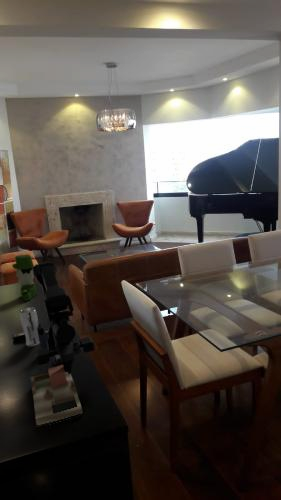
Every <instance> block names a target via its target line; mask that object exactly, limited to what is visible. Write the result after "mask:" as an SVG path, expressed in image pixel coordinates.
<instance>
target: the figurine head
mask: <svg viewBox="0 0 281 500" xmlns="http://www.w3.org/2000/svg"><path fill="white" fill-rule="evenodd" d="M14 259H15V263H13V264H12V268H13V269H14V270H16V273H15V274H16V275H15V277H16V278H17V279H16V282H18V284H19V285H20V296H21V299H23V300H24V301H25V302H26V301H30V300H31V299H33V298H34V297H35V296H36V295H37V294H38V293H37V288H36V286H35V282H33V281H34V279H35V277H34V276H33V271H32V267H34V266H35V265H34V262H33V261H34V260H33V258H32V256H31V255H30V254H19V255H16V256H15V257H14Z"/></svg>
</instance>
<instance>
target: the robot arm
mask: <svg viewBox="0 0 281 500" xmlns="http://www.w3.org/2000/svg"><path fill="white" fill-rule="evenodd" d="M32 271H33V276H34V278H35V281H36V283H37V284H38V285H39V286H40V287H41V289H42V295H43V297H44V299H43V303H44V309H45V312H46V316H47V320H48V322H49V329H48V330H49V331H48V334H47V335H48V338H47V348H48V350H47V348H44V349H41V348H40V349H37V350H36V351H35V353H34V354H35V358H36V363H37V366H42V365H46V364H48V363H50V361H51V359H50V358H53V361H52V365H53V367H56V366H60V365H63V367H64V370H66V372H68V374H70V373H71V374H72V367H73V362H74V360H76V358H78V356H79V355H80V354H81V353H82V351H83V352H84V353H89V352H94V351H95V350H96V348H95V343H94V341H93V339H92V338H91V336H87V337H84V338H80V339H79V341H76V342H75V341H74V339H75V336H76V329H75V327H74V326H73V324H72V322H71V321H70V318H69V317H72V316H74V313H73V312H74V305H73V302H72V299H71V297H70V295H68V294H67V293H66V291H65V289H64V288H63V287H61V286H60V285H59V283H58V280H57V278H56V274H57V273H58V269H57V265H56V262H53V261H44V262H39V263H37V264H35V265H34V267H32Z"/></svg>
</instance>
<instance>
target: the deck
mask: <svg viewBox="0 0 281 500" xmlns="http://www.w3.org/2000/svg"><path fill="white" fill-rule="evenodd" d="M65 374H66V380H67V383H64V384H60V385H57V386H54V387H52V386H51V381H50V376H49V372H46V373H41V374H37V375H35V376H34V375H33V376H30V383H31V391H32V397H33V399H32V400H33V405H34V406H33V407H34V415H35V424H36V426H37V425H41V424H45V423H49V422H53V421H57V420H60V419H64V418H68V417H71V416H75V415H78V414H82V413H83V408H82V405H81V401H80V399H79V398H80V397H79V395H78V392H77V387H76V384H75V381H74V379H73V375H72V372H71V373H70V374H68V372H67V371H65ZM73 400H75V402H76V405H77V407H74V408H71V409H67V410H64V411H61V412H57V413H53V408H52V405H57V404H62V403H65V402H69V401H73ZM83 414H84V413H83Z"/></svg>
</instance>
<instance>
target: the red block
mask: <svg viewBox="0 0 281 500" xmlns="http://www.w3.org/2000/svg"><path fill="white" fill-rule="evenodd" d="M47 370H48V372H47V373H49V376H50V381H51V386H52V387H54V386H57V385H60V384H64V383H67V380H66V374H65V372H66V371H65V370H66V369H65V368H64V367H63V365H60V366H56V367H54V366H53V367H50V368H49V367H48V369H47Z"/></svg>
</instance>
